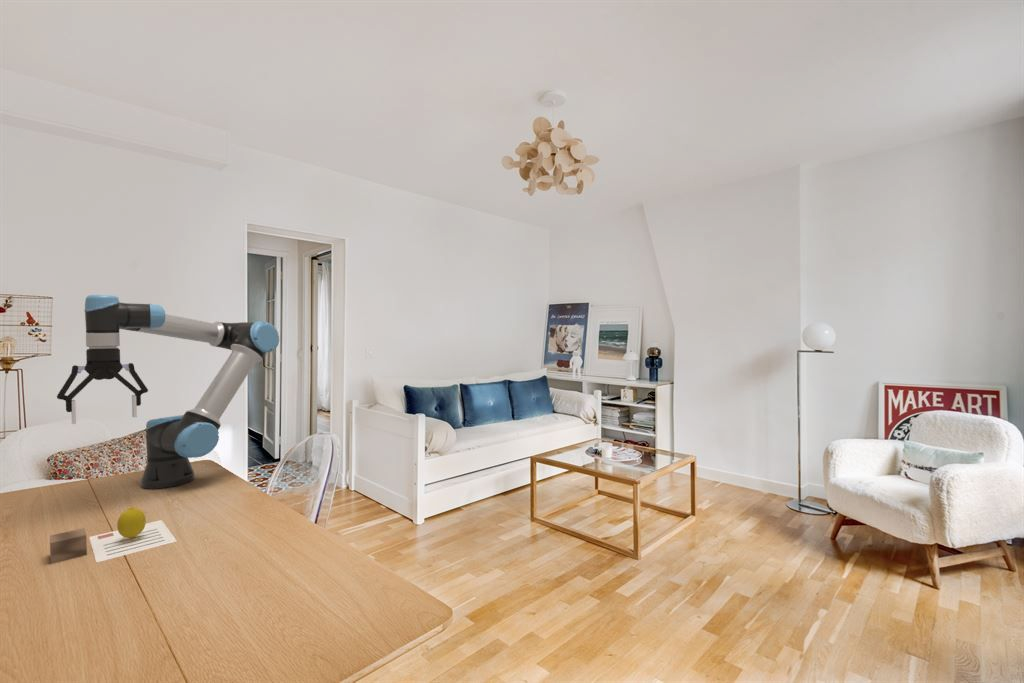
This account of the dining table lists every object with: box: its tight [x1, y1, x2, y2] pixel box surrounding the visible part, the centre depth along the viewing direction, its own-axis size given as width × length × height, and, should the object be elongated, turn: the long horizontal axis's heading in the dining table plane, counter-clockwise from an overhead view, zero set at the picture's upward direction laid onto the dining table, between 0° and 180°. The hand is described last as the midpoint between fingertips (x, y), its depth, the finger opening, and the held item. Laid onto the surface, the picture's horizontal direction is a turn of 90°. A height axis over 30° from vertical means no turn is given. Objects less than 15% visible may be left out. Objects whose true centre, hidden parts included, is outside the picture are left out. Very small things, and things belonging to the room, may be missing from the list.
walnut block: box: [49, 527, 88, 565], centre depth 111 cm, size 6×6×5 cm
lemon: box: [116, 506, 147, 539], centre depth 119 cm, size 6×6×8 cm
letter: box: [89, 519, 177, 563], centre depth 119 cm, size 15×20×1 cm
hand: (105, 420), depth 140 cm, fingers open, 13 cm apart
